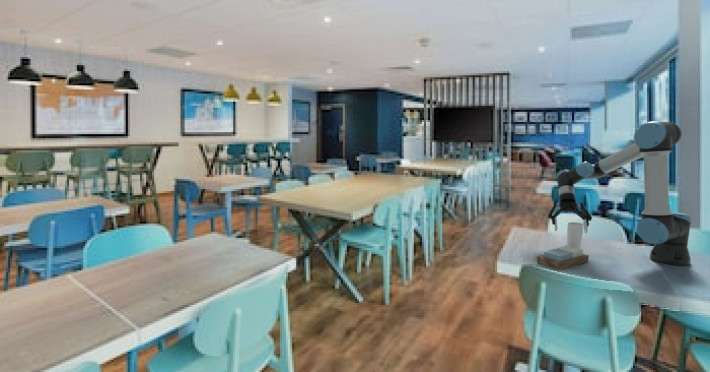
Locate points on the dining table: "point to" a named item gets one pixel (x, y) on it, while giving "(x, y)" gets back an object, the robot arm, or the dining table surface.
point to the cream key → (572, 251)
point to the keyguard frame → (563, 264)
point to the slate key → (557, 255)
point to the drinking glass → (574, 234)
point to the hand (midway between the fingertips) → (571, 230)
